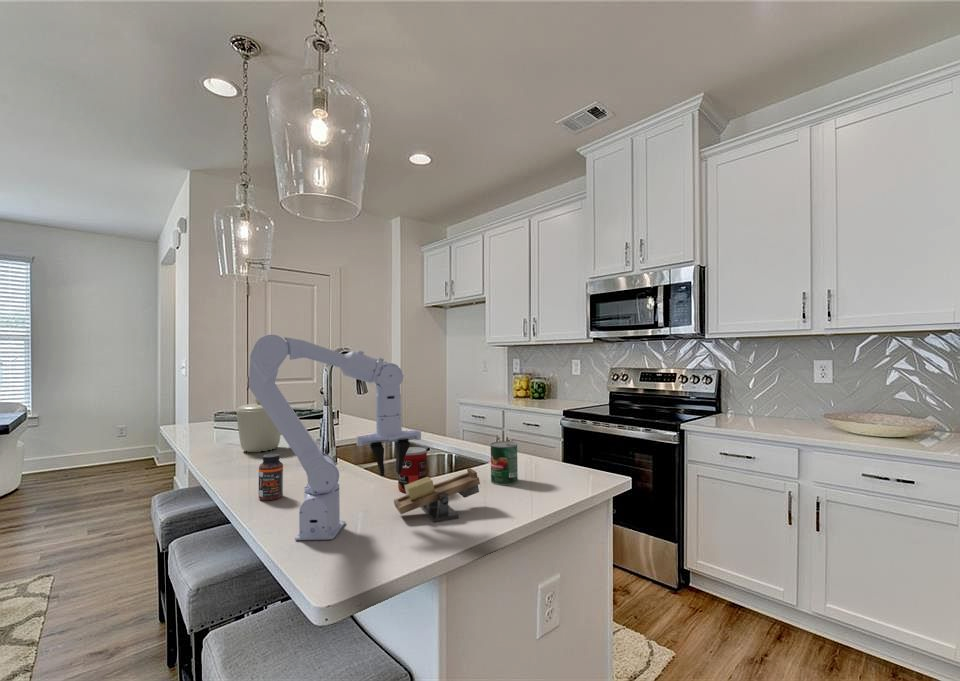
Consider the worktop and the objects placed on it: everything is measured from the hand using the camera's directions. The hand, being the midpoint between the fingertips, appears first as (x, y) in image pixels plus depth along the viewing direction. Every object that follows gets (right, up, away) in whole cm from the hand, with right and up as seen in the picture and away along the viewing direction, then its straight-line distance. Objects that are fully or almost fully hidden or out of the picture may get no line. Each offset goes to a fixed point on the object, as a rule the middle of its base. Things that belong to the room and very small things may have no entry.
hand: (390, 473), depth 106 cm
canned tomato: (+28, -11, +29) cm, 41 cm away
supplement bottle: (-35, -11, +17) cm, 40 cm away
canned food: (+2, -11, +22) cm, 25 cm away
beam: (+11, -8, +4) cm, 14 cm away
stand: (+11, -10, +4) cm, 15 cm away
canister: (-66, -13, +76) cm, 101 cm away
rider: (+7, -6, +3) cm, 10 cm away
